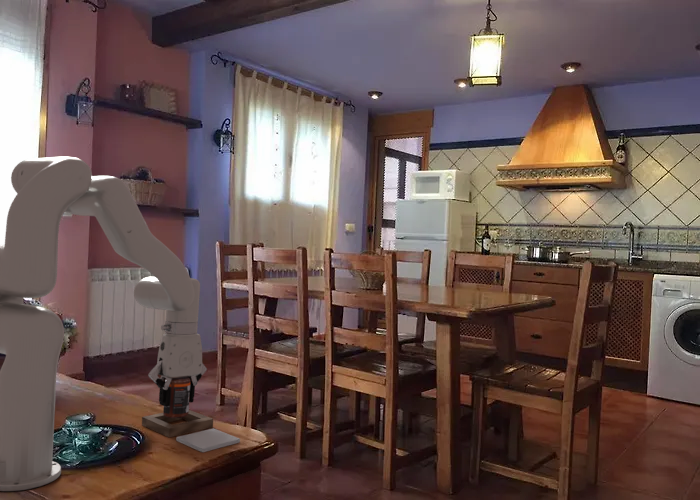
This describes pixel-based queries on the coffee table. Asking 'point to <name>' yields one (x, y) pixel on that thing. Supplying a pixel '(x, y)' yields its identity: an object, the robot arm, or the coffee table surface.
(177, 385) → the supplement bottle
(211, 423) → the frame
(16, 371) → the robot arm
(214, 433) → the glazed tile
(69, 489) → the coffee table surface
